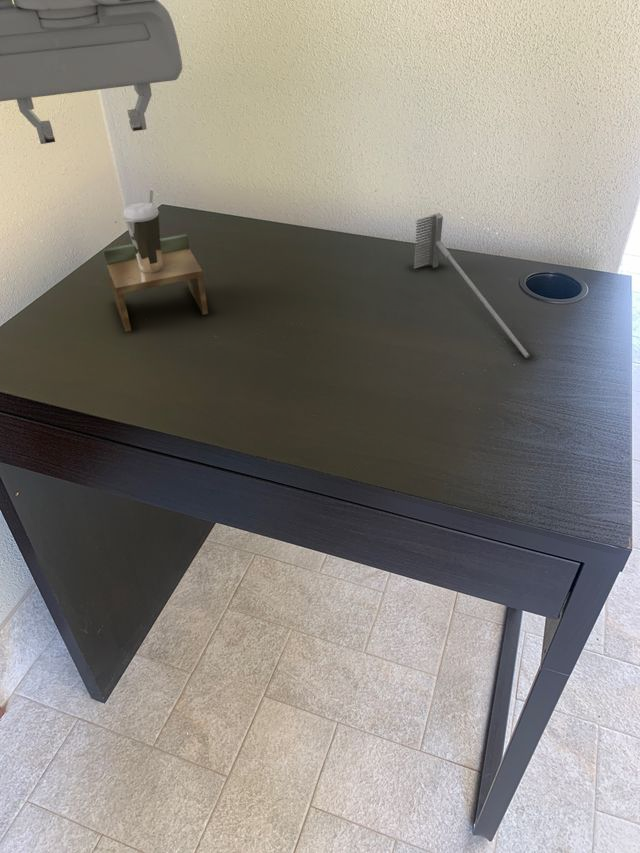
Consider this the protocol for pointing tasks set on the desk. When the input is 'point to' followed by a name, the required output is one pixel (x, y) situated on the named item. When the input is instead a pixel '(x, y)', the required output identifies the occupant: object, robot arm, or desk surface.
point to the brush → (432, 258)
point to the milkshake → (145, 234)
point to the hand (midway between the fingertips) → (94, 135)
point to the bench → (175, 269)
